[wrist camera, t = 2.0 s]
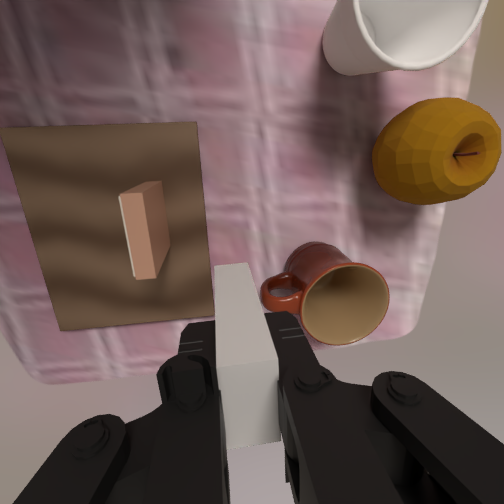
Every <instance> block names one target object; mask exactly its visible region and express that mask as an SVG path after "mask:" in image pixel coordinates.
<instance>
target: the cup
mask: <svg viewBox="0 0 504 504" xmlns="http://www.w3.org/2000/svg"><path fill="white" fill-rule="evenodd" d="M487 3H488V0H337V2H336V4H335V6H334V8H333V10H332V12H331V14H330V17H329V19H328V21H327V23H326V26H325V28H324V33H323V42H322V43H323V51H324V55H325V57H326V60H327V62H328V63H329V65H330V66H331V67H332V68H333V69H334V70H335V71H336V72H338V73H340V74H343V75H346V76H354V75H361V74H369V73H377V72H384V71H393V70H404V71H419V70H424V69H428V68H431V67H433V66H436V65H438V64H440V63H442V62H444V61H445V60H447V59H448V58H449V57H451V56H452V55H454V54H455V53H456V52H457V51H458V50H459V49H460V48H461V47H462V46H463V45H464V44H465V43H466V42H467V40H468V39H469V37H470V36H471V35H472V33H473V32H474V31H475V29H476V27H477V25H478V24H479V22H480V20H481V18H482V16H483V14H484V11H485V9H486V6H487Z"/></svg>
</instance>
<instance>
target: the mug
mask: <svg viewBox="0 0 504 504" xmlns="http://www.w3.org/2000/svg"><path fill="white" fill-rule="evenodd" d="M274 289H288V290H291V291H292V293H293V294H292V295H290V296H286V297H276V296H272V295H271V294H270V293H269V292H271V291H272V290H274ZM260 297H261V302H262V304H263V306H264V307H265V308H266V309H267V310H269V311H272V312H280V311H288V312H289V313H290V314H298V315H300V318H301V323H302V325H303V327H304V328H305V330H306V331H307V332H308V334H310V335H311V336H312V337H313V338H314V339H316V340H317V341H319V342H321V343H324V344H328V345H346V344H351V343H354V342H356V341H359V340H361V339H363V338H364V337H366V336H367V335H369V334H370V333H371V332H373V331H374V330H375V329H376V328H377V327H378V325H379V324H380V323H381V321H382V320H383V318H384V316H385V314H386V312H387V309H388V305H389V288H388V285H387V283H386V281H385V279H384V278H383V276H382V275H381V274H380V273H379V272H378V271H377V270H375V269H374V268H372V267H370V266H368V265H365V264H361V263H356V262H352V261H351V260H350V259H349V258H348V257H347V256H345V255H344V254H343V253H342V252H341V251H340V250H339V249H337V248H336V247H334V246H332V245H329V244H326V243H323V242H309V243H306V244H303V245H301V246H300V247H298V248H297V249H296V250H295V251H294V252H293V253H292V254H291V255H290V257H289V258H288V260H287V264H286V272H283V273H280V274H278V275H276V276H273V277H270V278H268V279H266V280H265V281H264V282H263V284H262V286H261V290H260Z"/></svg>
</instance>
